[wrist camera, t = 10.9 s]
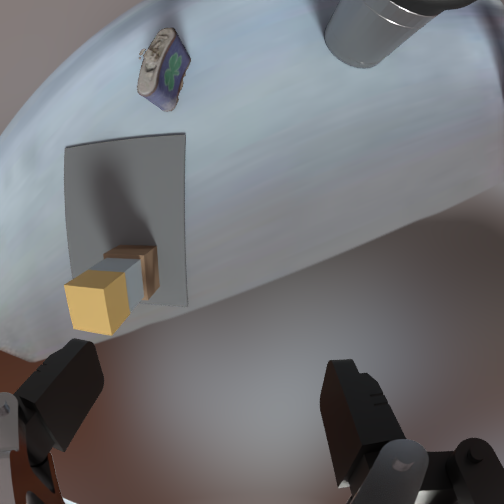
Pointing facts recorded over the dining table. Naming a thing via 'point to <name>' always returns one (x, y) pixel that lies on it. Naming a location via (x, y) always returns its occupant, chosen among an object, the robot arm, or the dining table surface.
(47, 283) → the dining table surface
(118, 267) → the tower mid
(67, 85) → the dining table surface
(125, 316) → the ochre block
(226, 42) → the dining table surface
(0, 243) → the dining table surface
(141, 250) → the tower base
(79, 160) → the slate mat
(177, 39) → the flask
